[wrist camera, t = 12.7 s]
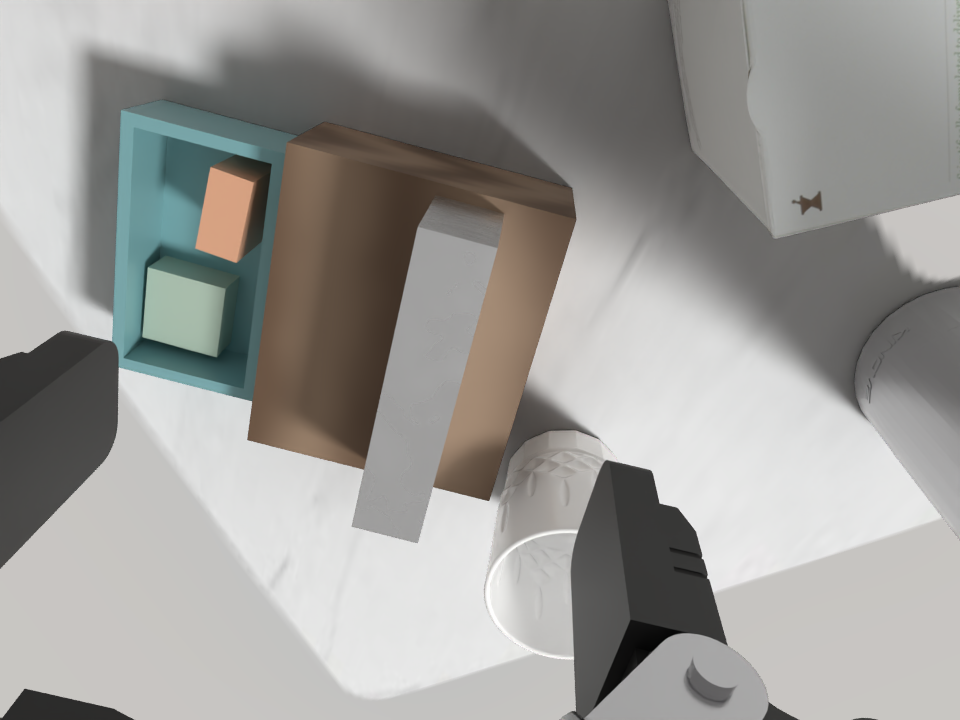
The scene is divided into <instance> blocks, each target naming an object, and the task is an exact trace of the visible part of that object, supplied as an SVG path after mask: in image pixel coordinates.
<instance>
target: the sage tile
mask: <svg viewBox="0 0 960 720" xmlns="http://www.w3.org/2000/svg"><path fill="white" fill-rule="evenodd" d="M239 278H240V276H238V275H234V274H231V273H227V272H224V271H220V270H216V269H213V268H209V267H206V266H202V265H198V264H195V263H191V262H188V261H184V260H180V259H177V258H173V257H170V256H164V257H163V258H161V259H160V260H158V261H157V262H155V263H154V264H152V265H151V266H149V267H148V272H147V285H146V298H145V311H144V323H143V336H142V337H144V338H148V339H151V340H155V341H159V342H162V343H166V344H169V345H173V346H177V347H180V348H184V349H188V350H191V351H195V352H199V353H202V354H206V355H210V356H213V357H218V355H219V354H220V353H221V352H222V351H223V350H224V349H225V348H226V347H227V346H228V345H229V344H230V343H231V338H232V330H233V323H234V315H235V308H236V301H237V293H238V286H239Z"/></svg>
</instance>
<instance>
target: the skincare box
mask: <svg viewBox="0 0 960 720" xmlns="http://www.w3.org/2000/svg"><path fill="white" fill-rule="evenodd" d="M668 5H669V12H670V19H671V25H672V32H673V39H674V45H675V51H676V58H677V64H678V71H679V77H680V84H681V90H682V96H683V102H684V109H685V115H686V121H687V127H688V132H689V137H690V142H691V147H692V151H693V152H694V153H695V154H696V155H697V156H698V157H699V158H700V159H701V160H702V161H704V162H705V163H706V165H707V166H708V167H709V168H710V169H711V170H712V171H713V172H714V173H715V174H716V175H717V176H718V177H719V178H720V179H721V180H722V181H723V182H724V183H725V184H726V185H727V186H728V188H729V189H730V190H731V191H732V192H733V193H734V194H735V195H736V196H737V197H738V198H739V199H740V200H741V201H742V202H743V203H744V204H745V206H746V207H747V208H748V209H749V210H750V211H751V212H752V213H753V214H754V215H755V216H756V217H757V218H758V219H759V220H760V221H761V222H762V224H763V225H764V226H765V227H766V228H767V229H768V230H769V232H770V233H771V235H772V237H773V238H774V239H777V238H781V237H786V236H790V235H795V234H799V233H803V232H807V231H812V230H816V229H820V228H824V227H829V226H833V225H837V224H841V223H845V222H849V221H853V220H857V219H861V218H865V217H869V216H873V215H878V214H882V213H886V212H890V211H894V210H898V209H902V208H906V207H910V206H914V205H919V204H923V203H927V202H931V201H935V200H939V199H943V198H947V197H952V196H955V195H960V0H668Z"/></svg>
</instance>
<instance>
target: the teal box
mask: <svg viewBox="0 0 960 720" xmlns="http://www.w3.org/2000/svg"><path fill="white" fill-rule="evenodd" d="M295 137H297V135H293V134H289V133H286V132H282V131H278V130H274V129H271V128H267V127H263V126H259V125H256V124H252V123H248V122H244V121H241V120H237V119H233V118H229V117H226V116H222V115H218V114H214V113H211V112H207V111H203V110H199V109H196V108H192V107H188V106H184V105H181V104H177V103H173V102H169V101H166V100H158V101H155V102H151V103H147V104H143V105H139V106H135V107H131V108H127V109H123V110H121V122H120V149H119V175H118V202H117V228H116V255H115V282H114V308H113V335H112V342H113V343H115V345H116V346H117V349H118V354H119V367H120V368H124V369H128V370H131V371H135V372H139V373H143V374H147V375H151V376H155V377H159V378H163V379H167V380H171V381H175V382H179V383H182V384H186V385H190V386H194V387H198V388H202V389H206V390H210V391H214V392H218V393H222V394H226V395H230V396H233V397H237V398H241V399H245V400H249V401H253V394H254V386H255V378H256V371H257V363H258V356H259V348H260V341H261V333H262V326H263V318H264V310H265V303H266V295H267V288H268V280H269V273H270V265H271V257H272V250H273V242H274V235H275V227H276V220H277V212H278V205H279V197H280V189H281V182H282V174H283V167H284V159H285V152H286V144H287V142H288V141H290V140H292V139H294V138H295ZM236 154H237V155H240V156H244V157H248V158H252V159H255V160H259V161H263V162H267V163H271V164H272V167H271V175H270V183H269V191H268V199H267V207H266V214H265V222H264V230H263V238H262V242H261V243H260V244H258V245H257V246H256V247H255V248H254V249H252V250H251V251H250V252H249V253H248V254H247V255H245V256H244V257H243V258H242V259H241V260H239V261H238V262H237V263H235V262H232V261H230V260H227V259H224V258H221V257H218V256H215V255H213V254H210V253H207V252H204V251H201V250H198V249H195V247H196V242H197V236H198V231H199V225H200V220H201V215H202V209H203V204H204V199H205V193H206V188H207V183H208V177H209V172H210V167H211V166H213V165H215V164H218V163H220V162H222V161H224V160H226V159H228V158H230V157H232V156H234V155H236ZM164 256H170V257H173V258H177V259H180V260H184V261H188V262H191V263H195V264H198V265H202V266H206V267H209V268H213V269H216V270H220V271H224V272H227V273H231V274H234V275H238V276H240V278H239V286H238V293H237V301H236V308H235V315H234V323H233V330H232V338H231V343H230V344H229V345H228V346H227V347H226V348H225V349H224V350H223V351H222V352H221V353H220V354H219V355H218V357H213V356H210V355H206V354H202V353H199V352H195V351H191V350H188V349H184V348H180V347H177V346H173V345H169V344H166V343H162V342H159V341H155V340H151V339H148V338H144V337H142V336H143V323H144V311H145V298H146V285H147V272H148V267H149V266H151V265H152V264H154V263H155V262H157V261H158V260H160V259H161V258H163V257H164Z"/></svg>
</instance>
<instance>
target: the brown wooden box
mask: <svg viewBox="0 0 960 720" xmlns="http://www.w3.org/2000/svg"><path fill="white" fill-rule="evenodd" d="M435 196H440V197H444V198H448V199H451V200H455V201H459V202H462V203H466V204H470V205H474V206H477V207H481V208H485V209H488V210H492V211H496V212H500V213H503V214H504V219H503V224H502V229H501V234H500V239H499V244H498V249H497V253H496V256H495V260H494V264H493V267H492V271H491V275H490V278H489V282H488V286H487V289H486V293H485V297H484V301H483V304H482V308H481V312H480V315H479V319H478V323H477V326H476V330H475V334H474V337H473V341H472V345H471V348H470V352H469V356H468V359H467V363H466V367H465V370H464V374H463V378H462V382H461V385H460V389H459V393H458V396H457V400H456V404H455V407H454V411H453V415H452V418H451V422H450V426H449V429H448V433H447V437H446V440H445V444H444V448H443V452H442V455H441V459H440V463H439V466H438V470H437V474H436V477H435V481H434V485H433V487H435V488H439V489H443V490H447V491H451V492H455V493H459V494H463V495H467V496H471V497H475V498H479V499H482V500H486V501H489V500H490V496H491V493H492V490H493V487H494V484H495V480H496V477H497V474H498V471H499V467H500V464H501V461H502V458H503V455H504V451H505V448H506V445H507V442H508V438H509V435H510V432H511V429H512V426H513V422H514V419H515V416H516V413H517V409H518V406H519V403H520V400H521V396H522V393H523V390H524V387H525V384H526V380H527V377H528V374H529V371H530V367H531V364H532V361H533V358H534V355H535V351H536V348H537V345H538V342H539V338H540V335H541V332H542V329H543V326H544V322H545V319H546V316H547V313H548V309H549V306H550V303H551V300H552V297H553V293H554V290H555V287H556V284H557V280H558V277H559V274H560V271H561V268H562V264H563V261H564V258H565V255H566V251H567V248H568V245H569V242H570V238H571V235H572V232H573V229H574V226H575V222H576V213H575V205H574V198H573V190H572V188H570V187H566V186H563V185H559V184H555V183H552V182H548V181H544V180H540V179H537V178H533V177H529V176H525V175H522V174H518V173H514V172H510V171H507V170H503V169H499V168H496V167H492V166H488V165H484V164H481V163H477V162H473V161H469V160H466V159H462V158H458V157H454V156H451V155H447V154H443V153H440V152H436V151H432V150H428V149H425V148H421V147H417V146H413V145H410V144H406V143H402V142H399V141H395V140H391V139H387V138H384V137H380V136H376V135H372V134H369V133H365V132H361V131H357V130H354V129H350V128H346V127H343V126H339V125H335V124H331V123H328V122H323V123H321V124H320V125H318V126H316V127H314V128H312V129H310V130H308V131H307V132H305V133H303V134H301V135H299V136H297V137H295V138H294V139H292V140H290V141H288V142H287V144H286V152H285V159H284V167H283V174H282V182H281V189H280V197H279V205H278V212H277V220H276V227H275V235H274V242H273V250H272V257H271V265H270V273H269V280H268V288H267V295H266V303H265V310H264V318H263V326H262V333H261V341H260V348H259V356H258V363H257V371H256V378H255V386H254V394H253V401H252V409H251V416H250V424H249V431H248V439H247V440H249V441H253V442H257V443H261V444H265V445H269V446H273V447H277V448H281V449H285V450H289V451H293V452H297V453H301V454H305V455H309V456H313V457H317V458H320V459H324V460H328V461H332V462H336V463H340V464H344V465H348V466H352V467H356V468H360V469H364V468H365V464H366V459H367V455H368V450H369V446H370V441H371V437H372V432H373V428H374V423H375V419H376V414H377V409H378V405H379V400H380V396H381V391H382V387H383V382H384V378H385V373H386V369H387V364H388V360H389V355H390V350H391V346H392V341H393V337H394V332H395V328H396V323H397V319H398V314H399V310H400V305H401V301H402V296H403V291H404V287H405V282H406V278H407V273H408V269H409V264H410V260H411V255H412V251H413V246H414V242H415V237H416V232H417V228H418V226H419V224H420V222H421V220H422V219H423V217H424V215H425V213H426V212H427V210H428V208H429V206H430V205H431V203H432V201H433V199H434V198H435Z"/></svg>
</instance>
